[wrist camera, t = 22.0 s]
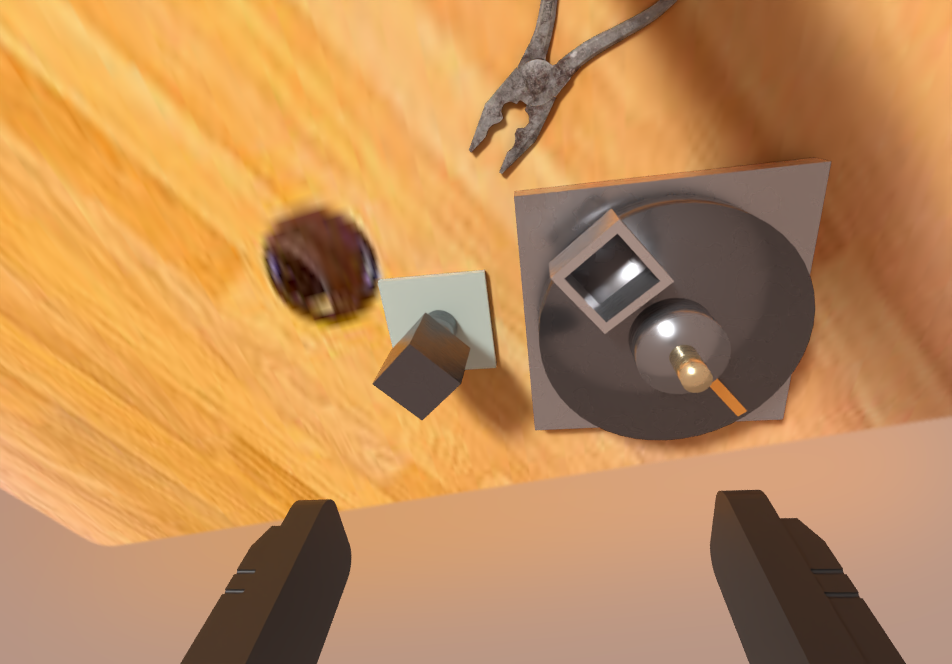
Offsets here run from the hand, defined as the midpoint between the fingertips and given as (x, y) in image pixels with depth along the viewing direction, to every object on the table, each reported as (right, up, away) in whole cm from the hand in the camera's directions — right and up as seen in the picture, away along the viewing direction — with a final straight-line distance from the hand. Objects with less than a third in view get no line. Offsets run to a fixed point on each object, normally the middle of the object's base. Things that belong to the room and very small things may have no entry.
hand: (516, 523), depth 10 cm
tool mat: (-4, +5, +32) cm, 32 cm away
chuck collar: (+13, +5, +27) cm, 31 cm away
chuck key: (-4, +5, +31) cm, 32 cm away
